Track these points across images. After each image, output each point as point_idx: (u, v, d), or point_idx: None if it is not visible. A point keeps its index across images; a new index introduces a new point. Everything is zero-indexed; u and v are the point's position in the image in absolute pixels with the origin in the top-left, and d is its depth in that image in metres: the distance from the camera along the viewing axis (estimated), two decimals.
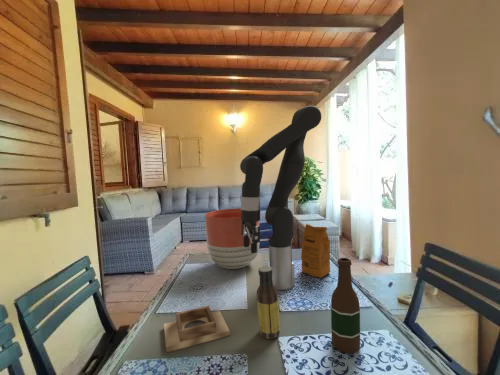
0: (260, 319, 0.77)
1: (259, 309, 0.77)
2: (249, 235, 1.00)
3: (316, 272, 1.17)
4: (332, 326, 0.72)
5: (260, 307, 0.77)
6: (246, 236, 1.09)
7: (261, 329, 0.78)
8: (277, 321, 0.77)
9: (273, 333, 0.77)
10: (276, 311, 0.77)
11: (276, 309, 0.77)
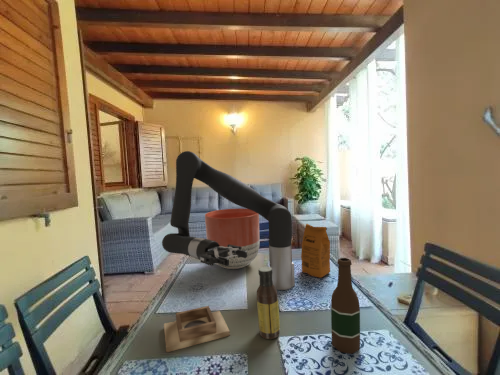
0: (260, 319, 0.77)
1: (259, 309, 0.77)
2: None
3: (316, 272, 1.17)
4: (332, 326, 0.72)
5: (260, 307, 0.77)
6: (236, 252, 0.91)
7: (261, 329, 0.78)
8: (277, 321, 0.77)
9: (273, 333, 0.77)
10: (276, 311, 0.77)
11: (276, 309, 0.77)
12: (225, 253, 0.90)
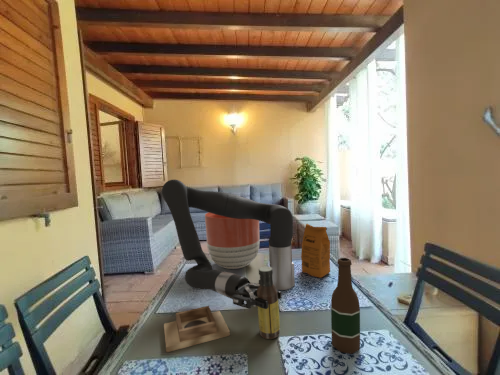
0: (260, 319, 0.77)
1: (259, 309, 0.77)
2: None
3: (316, 272, 1.17)
4: (332, 326, 0.72)
5: (260, 307, 0.77)
6: None
7: (261, 329, 0.78)
8: (277, 321, 0.77)
9: (273, 333, 0.77)
10: (276, 311, 0.77)
11: (276, 309, 0.77)
12: (256, 292, 0.82)
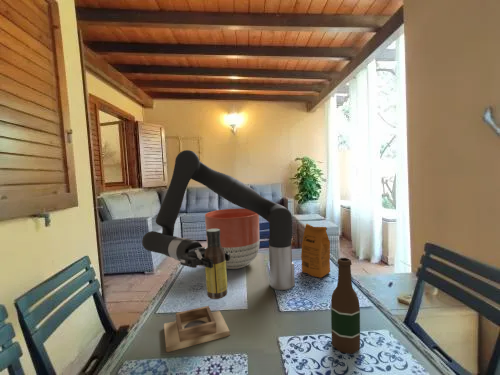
0: (207, 279, 0.78)
1: (206, 269, 0.78)
2: None
3: (316, 272, 1.17)
4: (332, 326, 0.72)
5: (206, 267, 0.77)
6: None
7: (207, 289, 0.78)
8: (223, 281, 0.78)
9: (218, 293, 0.77)
10: (222, 271, 0.78)
11: (222, 269, 0.78)
12: None
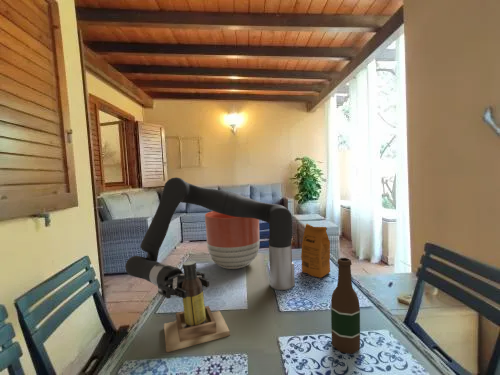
0: (184, 312, 0.80)
1: (183, 302, 0.80)
2: None
3: (316, 272, 1.17)
4: (332, 326, 0.72)
5: (184, 299, 0.79)
6: None
7: (186, 321, 0.80)
8: (201, 313, 0.80)
9: None
10: (199, 303, 0.80)
11: (199, 301, 0.80)
12: None
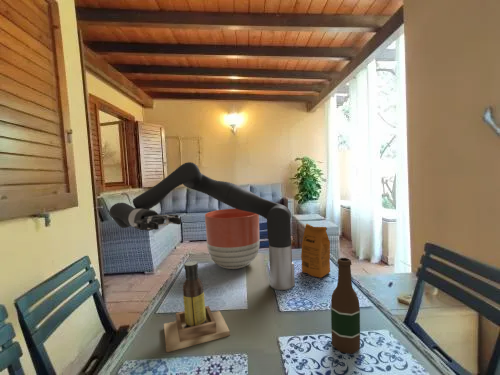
0: (185, 312, 0.80)
1: (184, 302, 0.80)
2: None
3: (316, 272, 1.17)
4: (332, 326, 0.72)
5: (184, 300, 0.79)
6: (172, 220, 0.94)
7: (186, 321, 0.80)
8: (201, 314, 0.80)
9: None
10: (200, 304, 0.80)
11: (200, 302, 0.80)
12: (160, 220, 0.93)
